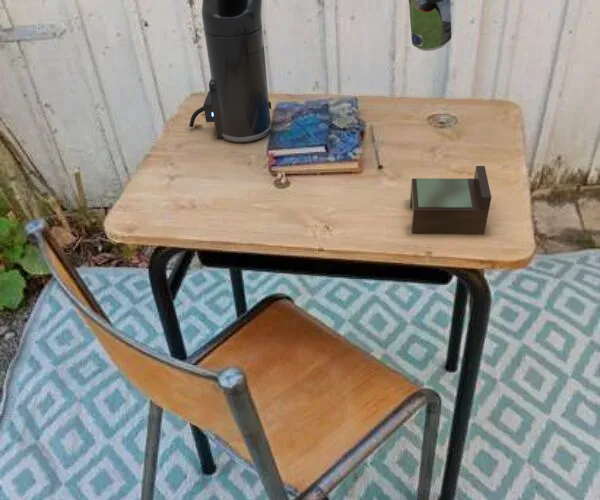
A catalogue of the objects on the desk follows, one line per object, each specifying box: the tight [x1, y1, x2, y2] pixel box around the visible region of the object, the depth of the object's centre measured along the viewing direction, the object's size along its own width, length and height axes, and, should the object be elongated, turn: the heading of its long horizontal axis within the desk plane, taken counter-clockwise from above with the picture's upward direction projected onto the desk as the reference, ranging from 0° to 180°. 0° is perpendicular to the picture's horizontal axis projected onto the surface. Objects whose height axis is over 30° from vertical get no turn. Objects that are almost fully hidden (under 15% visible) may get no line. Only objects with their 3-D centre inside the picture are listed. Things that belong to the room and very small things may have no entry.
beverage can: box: [408, 0, 452, 52], centre depth 97 cm, size 6×7×12 cm
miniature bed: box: [409, 165, 492, 235], centre depth 91 cm, size 10×8×6 cm
